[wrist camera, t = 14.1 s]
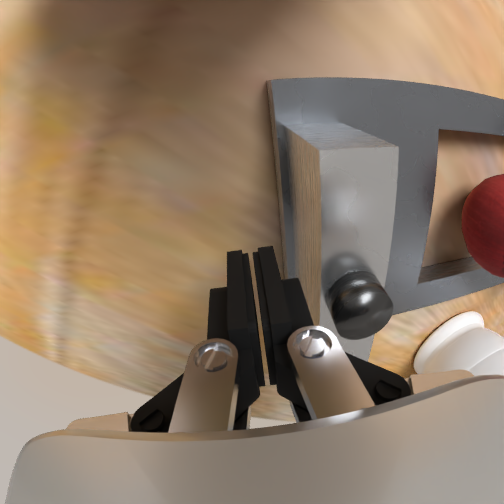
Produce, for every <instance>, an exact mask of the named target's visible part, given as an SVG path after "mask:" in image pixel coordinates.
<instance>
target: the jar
mask: <svg viewBox="0 0 504 504" xmlns="http://www.w3.org/2000/svg"><path fill="white" fill-rule="evenodd" d="M414 369H415V371H416V373H417V374H425V373H434V372H443V371H451V370H458V369H461V370H467V371H469V372H471V373H472V374H473V375H474V376H478V375H504V338H503V337H502V336H501V335H499V334H498V333H496V332H494V331H492V330H490V329H487V328H484V321H483V318H482V316H481V315H480V314H479V313H477V312H474V311H469V312H464V313H461V314H459V315H457V316H455V317H453V318H451V319H450V320H448V321H447V322H445V323H444V324H443V325H441V326H440V327H439V328H438V329H436V330H435V331H434V332H433V333H432V334H431V335H430V336H429V337H428V338H427V339H426V341H425V342H424V343H423V344H422V346H421V347H420V349H419V351H418V352H417V354H416V357H415V360H414Z"/></svg>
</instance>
